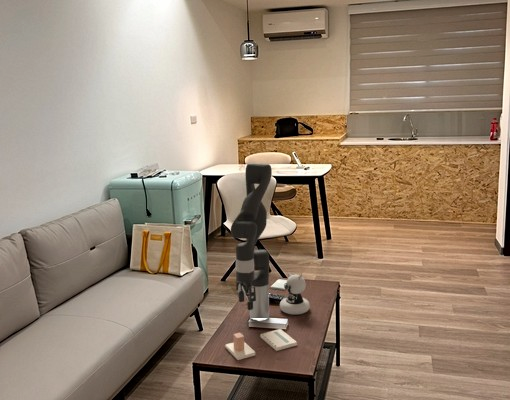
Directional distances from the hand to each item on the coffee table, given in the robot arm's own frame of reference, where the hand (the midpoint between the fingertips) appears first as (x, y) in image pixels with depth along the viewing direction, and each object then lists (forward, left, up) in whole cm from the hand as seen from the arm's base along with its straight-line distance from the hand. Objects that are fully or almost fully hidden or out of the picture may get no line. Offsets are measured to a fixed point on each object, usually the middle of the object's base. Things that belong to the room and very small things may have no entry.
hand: (245, 305), depth 219 cm
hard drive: (-54, +48, -20) cm, 75 cm away
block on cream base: (+1, -4, -19) cm, 20 cm away
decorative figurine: (-23, +38, -20) cm, 48 cm away
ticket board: (+1, +15, -19) cm, 24 cm away
